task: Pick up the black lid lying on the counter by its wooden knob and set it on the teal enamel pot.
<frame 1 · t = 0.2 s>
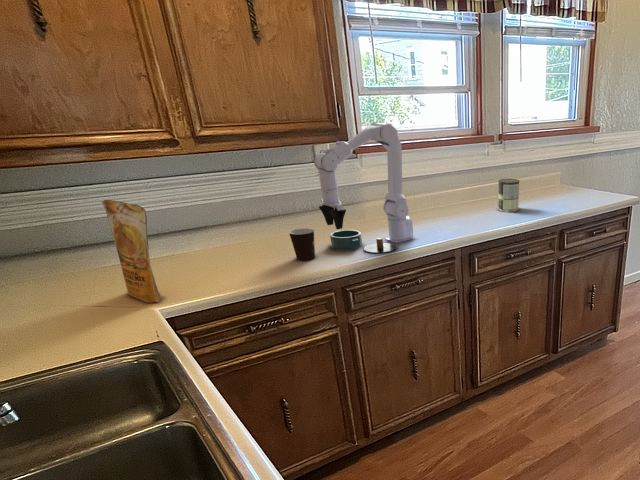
hand: (334, 226, 192), 10 cm above the worktop, tool pointing down, fingers open, 7 cm apart
lid: (380, 248, 199), point 1 cm above the worktop
pot: (347, 247, 203), on the worktop
coffee mug: (308, 257, 192), on the worktop
pancake mix bag: (147, 296, 158), on the worktop
coffee can: (508, 209, 261), on the worktop
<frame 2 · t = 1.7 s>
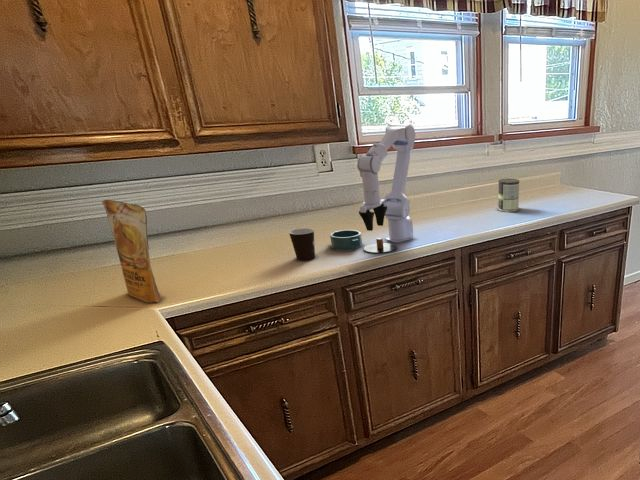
hand: (375, 227, 195), 9 cm above the worktop, tool pointing down, fingers open, 7 cm apart
nothing on the worktop moved.
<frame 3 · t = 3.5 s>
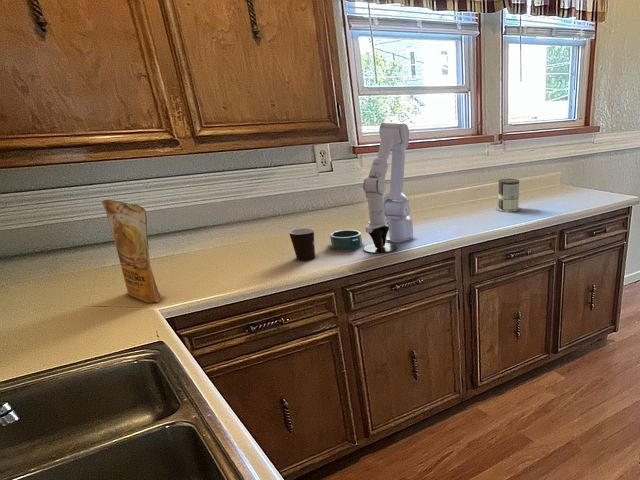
hand: (380, 246, 199), 1 cm above the worktop, tool pointing down, fingers closed on lid, 2 cm apart
lid: (380, 248, 199), point 1 cm above the worktop, touching gripper
everything else where it was.
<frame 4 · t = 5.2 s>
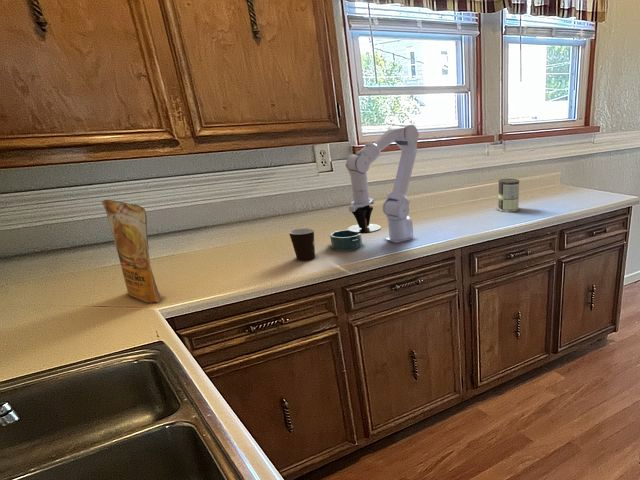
hand: (364, 227, 197), 9 cm above the worktop, tool pointing down, fingers closed on lid, 2 cm apart
lid: (364, 229, 197), point 8 cm above the worktop, touching gripper
everything else where it was.
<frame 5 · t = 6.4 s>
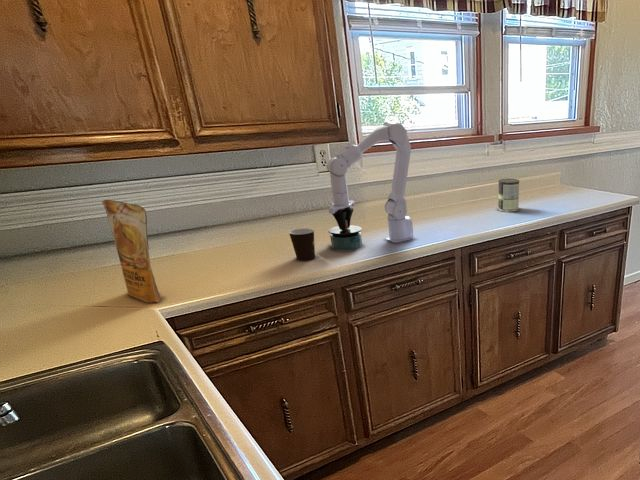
hand: (344, 228, 200), 7 cm above the worktop, tool pointing down, fingers closed on lid, 2 cm apart
lid: (345, 230, 200), point 7 cm above the worktop, touching gripper
everything else where it was.
when the fingers open (6 cm above the worktop, at t = 7.0 s): lid stays where it is, resting on pot.
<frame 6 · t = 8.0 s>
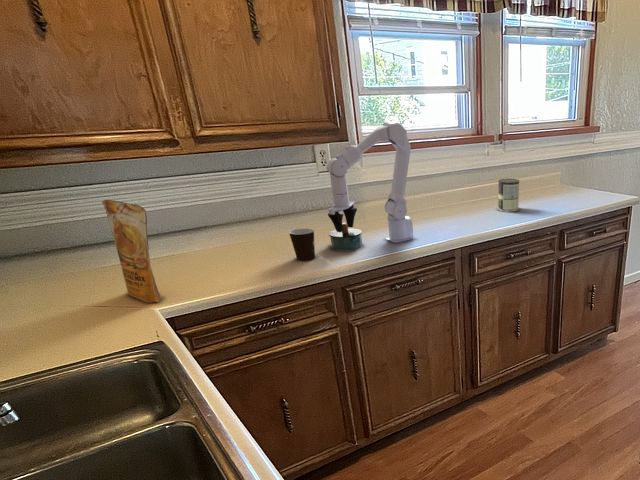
hand: (345, 229, 200), 7 cm above the worktop, tool pointing down, fingers open, 7 cm apart
lid: (345, 233, 201), point 5 cm above the worktop, touching pot
everything else where it was.
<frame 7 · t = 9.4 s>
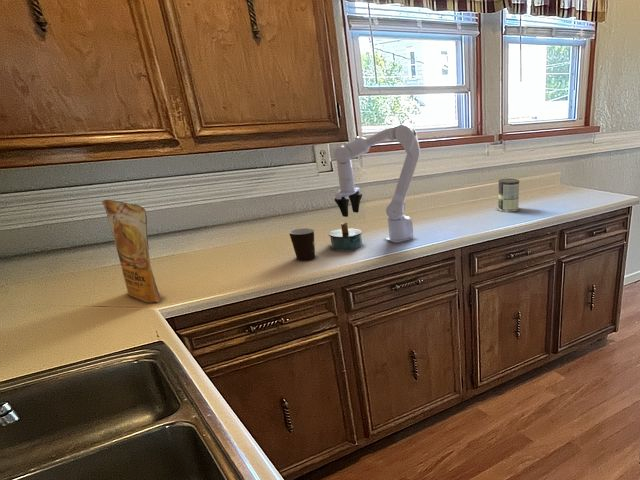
hand: (350, 214, 208), 10 cm above the worktop, tool pointing down, fingers open, 7 cm apart
nothing on the worktop moved.
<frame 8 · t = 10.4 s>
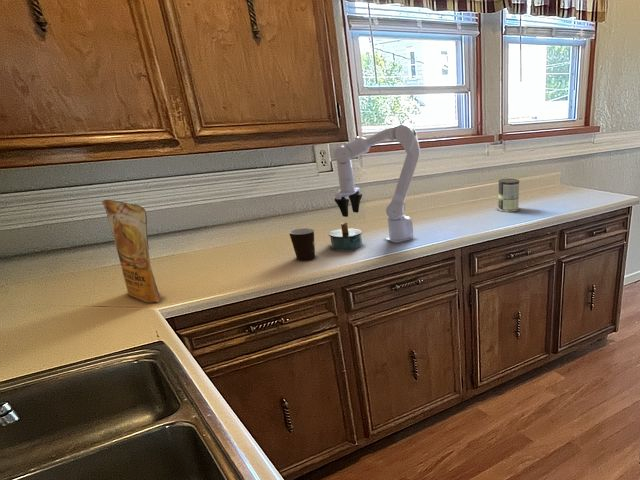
hand: (350, 214, 208), 10 cm above the worktop, tool pointing down, fingers open, 7 cm apart
nothing on the worktop moved.
at the end: lid 0.0 cm off-centre on the pot, point 5.4 cm above the pot's base; lid tilted 0° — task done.
